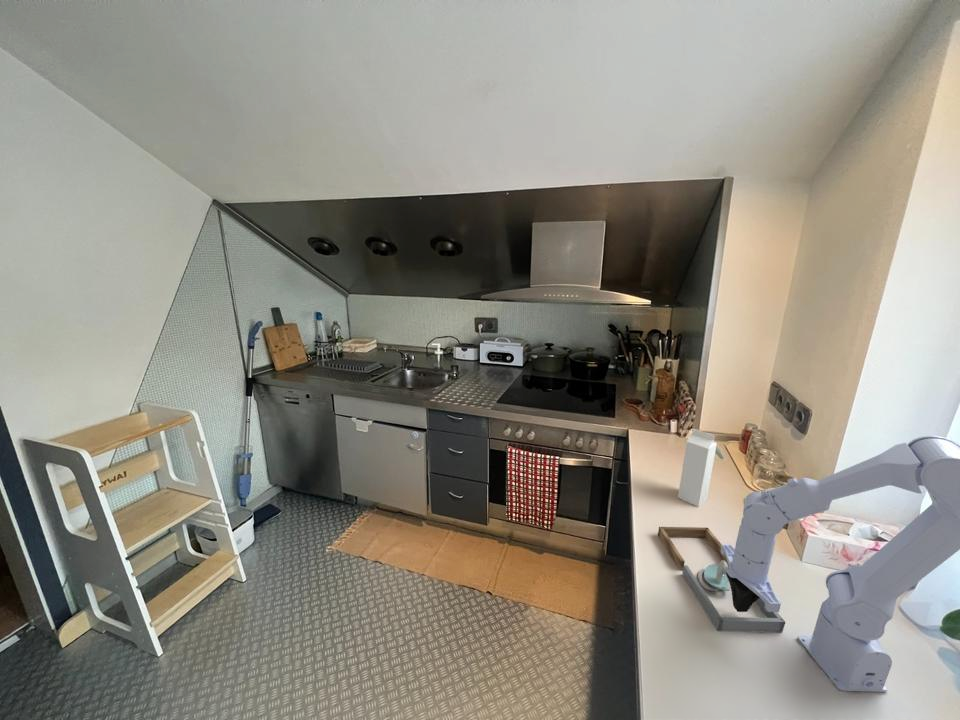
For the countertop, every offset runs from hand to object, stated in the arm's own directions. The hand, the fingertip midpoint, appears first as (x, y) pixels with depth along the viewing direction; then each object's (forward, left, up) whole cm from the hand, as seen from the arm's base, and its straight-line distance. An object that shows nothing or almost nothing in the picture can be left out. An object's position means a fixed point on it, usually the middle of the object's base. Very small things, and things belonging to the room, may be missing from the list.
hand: (740, 608), depth 78 cm
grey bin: (+3, 0, -2) cm, 4 cm away
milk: (+39, -11, -2) cm, 41 cm away
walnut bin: (+17, 0, -2) cm, 18 cm away
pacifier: (+8, 0, -2) cm, 9 cm away
